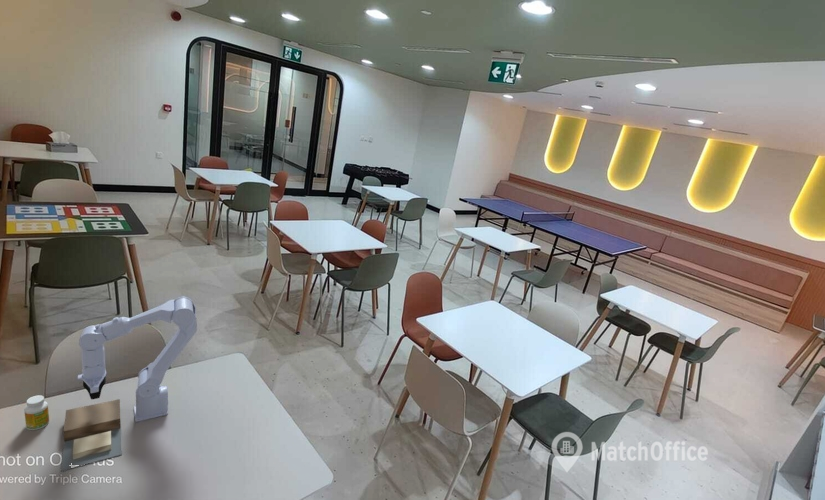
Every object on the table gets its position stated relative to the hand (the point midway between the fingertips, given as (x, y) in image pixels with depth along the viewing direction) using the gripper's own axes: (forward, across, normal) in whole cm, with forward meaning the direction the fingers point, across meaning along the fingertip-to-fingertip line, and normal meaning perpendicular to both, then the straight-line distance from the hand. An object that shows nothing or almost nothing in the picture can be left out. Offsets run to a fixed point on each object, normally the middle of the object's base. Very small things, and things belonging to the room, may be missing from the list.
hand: (95, 397), depth 128 cm
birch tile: (+7, +12, -1) cm, 14 cm away
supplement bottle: (+10, -5, -15) cm, 18 cm away
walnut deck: (+9, +1, -1) cm, 10 cm away
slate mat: (+9, +12, -1) cm, 16 cm away
